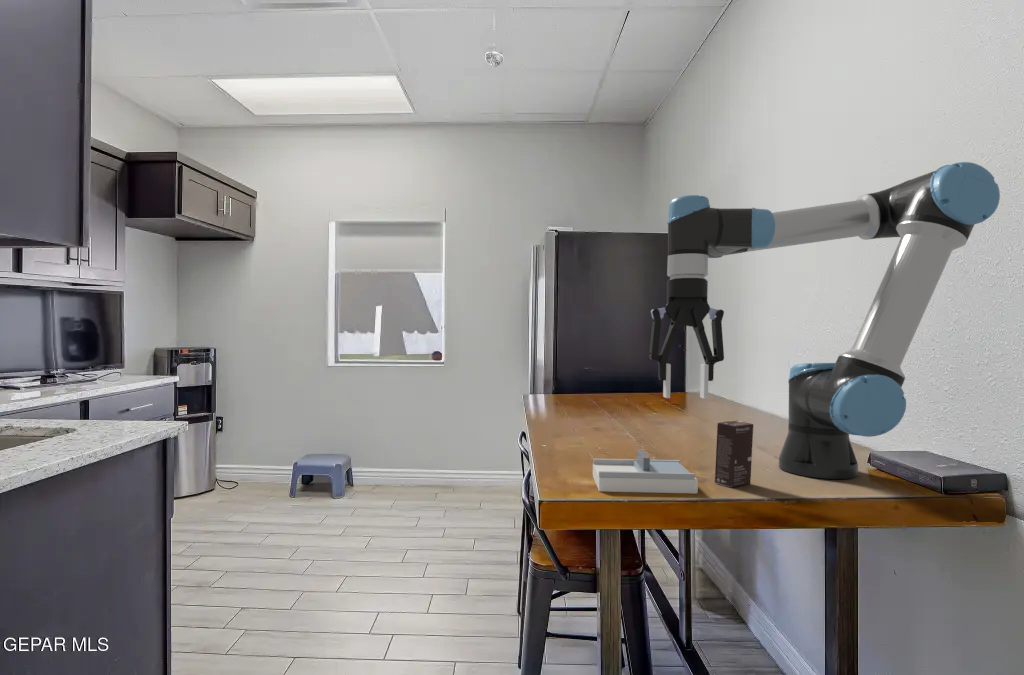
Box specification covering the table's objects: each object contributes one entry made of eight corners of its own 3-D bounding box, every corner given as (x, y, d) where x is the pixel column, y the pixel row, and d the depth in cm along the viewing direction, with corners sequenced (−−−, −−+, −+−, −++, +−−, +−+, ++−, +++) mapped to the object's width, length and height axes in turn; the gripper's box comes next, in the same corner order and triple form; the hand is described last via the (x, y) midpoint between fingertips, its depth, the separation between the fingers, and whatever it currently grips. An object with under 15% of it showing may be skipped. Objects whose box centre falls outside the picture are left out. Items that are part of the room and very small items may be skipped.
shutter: (678, 465, 119) (678, 450, 119) (690, 476, 110) (690, 460, 110) (633, 464, 119) (633, 449, 119) (641, 475, 110) (641, 459, 110)
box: (733, 488, 112) (735, 425, 112) (714, 483, 116) (715, 422, 115) (753, 484, 115) (754, 423, 115) (733, 479, 119) (734, 419, 119)
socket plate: (681, 477, 120) (681, 459, 120) (697, 493, 108) (697, 474, 108) (592, 475, 121) (592, 458, 121) (599, 491, 109) (599, 472, 109)
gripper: (731, 280, 117) (729, 396, 117) (633, 279, 118) (631, 394, 118) (745, 277, 109) (743, 400, 110) (640, 276, 110) (638, 399, 110)
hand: (685, 397), depth 114 cm, fingers open, 6 cm apart
